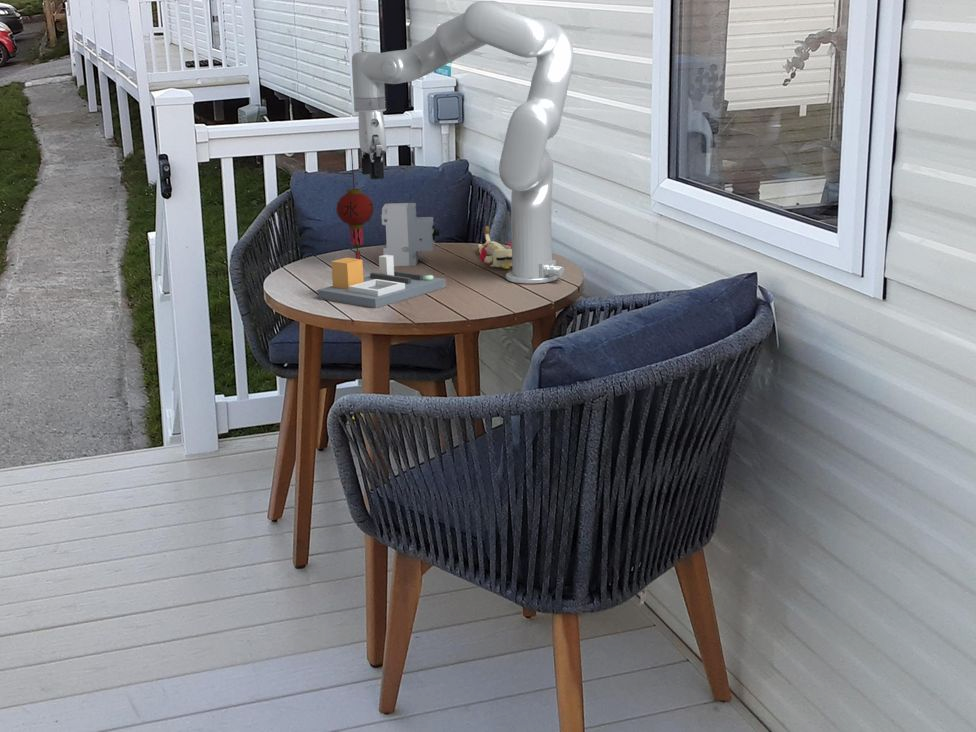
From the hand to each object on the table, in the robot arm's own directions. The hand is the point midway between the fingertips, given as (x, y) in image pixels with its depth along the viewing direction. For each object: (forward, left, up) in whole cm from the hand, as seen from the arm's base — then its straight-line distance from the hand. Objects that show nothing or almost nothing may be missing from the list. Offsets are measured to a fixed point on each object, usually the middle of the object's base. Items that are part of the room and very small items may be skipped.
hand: (372, 176), depth 286 cm
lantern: (+8, -1, -24) cm, 25 cm away
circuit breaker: (0, -13, -24) cm, 28 cm away
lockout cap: (-11, +22, -22) cm, 33 cm away
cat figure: (-18, -26, -24) cm, 40 cm away
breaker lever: (-13, +11, -22) cm, 27 cm away
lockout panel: (-17, +17, -24) cm, 34 cm away
